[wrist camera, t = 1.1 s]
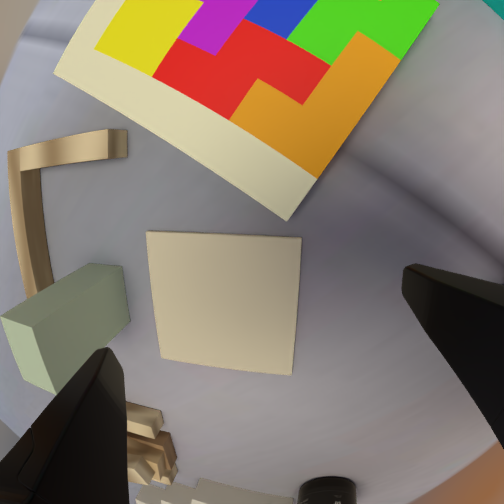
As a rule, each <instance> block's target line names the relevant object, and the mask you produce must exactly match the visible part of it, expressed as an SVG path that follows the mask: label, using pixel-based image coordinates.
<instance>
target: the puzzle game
mask: <svg viewBox="0 0 504 504" xmlns="http://www.w3.org/2000/svg"><path fill="white" fill-rule="evenodd" d="M483 1H484V2H485V3H486V4H487V5H488V6H489V7H491V8H492V9H493V10H494V11H495V12H496V13H497V14H498V15H499V16H500V17H501V18H502V19H503V20H504V0H483ZM438 6H439V3H438V2H437V1H435V0H96V1H95V2H94V4H93V5H92V7H91V8H90V10H89V11H88V13H87V14H86V16H85V17H84V19H83V20H82V22H81V24H80V25H79V27H78V29H77V30H76V32H75V34H74V35H73V37H72V39H71V40H70V42H69V44H68V46H67V48H66V49H65V51H64V53H63V55H62V57H61V59H60V61H59V63H58V65H57V67H56V69H55V71H54V73H53V74H55V75H57V76H58V77H60V78H62V79H64V80H65V81H67V82H69V83H71V84H73V85H74V86H76V87H78V88H79V89H81V90H83V91H85V92H86V93H88V94H90V95H92V96H93V97H95V98H97V99H98V100H100V101H102V102H103V103H105V104H107V105H108V106H110V107H112V108H113V109H115V110H117V111H118V112H120V113H122V114H123V115H125V116H127V117H128V118H130V119H132V120H133V121H135V122H136V123H138V124H140V125H141V126H143V127H145V128H146V129H148V130H149V131H151V132H153V133H154V134H156V135H157V136H159V137H161V138H162V139H164V140H165V141H167V142H168V143H170V144H172V145H173V146H175V147H176V148H178V149H179V150H181V151H183V152H184V153H186V154H187V155H189V156H190V157H192V158H193V159H195V160H196V161H198V162H200V163H201V164H203V165H204V166H206V167H207V168H209V169H210V170H212V171H213V172H215V173H216V174H218V175H219V176H221V177H222V178H224V179H225V180H227V181H228V182H230V183H231V184H233V185H234V186H236V187H237V188H239V189H240V190H242V191H243V192H245V193H246V194H247V195H249V196H250V197H252V198H253V199H255V200H256V201H258V202H259V203H261V204H262V205H263V206H265V207H266V208H268V209H269V210H271V211H272V212H274V213H275V214H276V215H278V216H279V217H281V218H282V219H284V220H285V221H286V222H287V221H288V219H289V218H290V217H291V215H292V214H293V212H294V211H295V210H296V208H297V207H298V205H299V204H300V203H301V201H302V200H303V198H304V197H305V196H306V194H307V193H308V191H309V190H310V189H311V187H312V186H313V184H314V183H315V182H316V180H317V179H318V177H319V176H320V175H321V173H322V172H323V170H324V169H325V168H326V166H327V165H328V163H329V162H330V161H331V159H332V158H333V156H334V155H335V154H336V152H337V151H338V149H339V148H340V147H341V145H342V144H343V142H344V141H345V139H346V138H347V137H348V135H349V134H350V132H351V131H352V130H353V128H354V127H355V125H356V124H357V122H358V121H359V120H360V118H361V117H362V115H363V114H364V113H365V111H366V110H367V108H368V107H369V105H370V104H371V103H372V101H373V100H374V98H375V97H376V95H377V94H378V93H379V91H380V90H381V88H382V87H383V85H384V84H385V83H386V81H387V80H388V78H389V77H390V75H391V74H392V72H393V71H394V70H395V68H396V67H397V65H398V64H399V62H400V61H401V60H402V58H403V57H404V55H405V54H406V52H407V51H408V49H409V48H410V47H411V45H412V44H413V42H414V41H415V39H416V38H417V36H418V35H419V33H420V32H421V31H422V29H423V28H424V26H425V25H426V23H427V22H428V20H429V19H430V17H431V16H432V14H433V13H434V12H435V10H436V9H437V7H438Z"/></svg>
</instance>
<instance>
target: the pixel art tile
mask: <svg viewBox="0 0 504 504" xmlns="http://www.w3.org/2000/svg"><path fill="white" fill-rule="evenodd" d="M135 500H136V504H293V498H288V497H282V496H276V495H270V494H265V493H260V492H255V491H250V490H246V489H242V488H237V487H233V486H229V485H225V484H222V483H218V482H214V481H211V480H207V479H204V478H200V479H199V482H198V484H197V487H196V489H194V488H191V487H188V486H185V485H182V484H179V483H176V482H173V483H172V485H167V488H166V490H165V489H162V488H159V487H157V486H154V485H152V484H149V485H144V484H143V485H142V487H141V489H140V491H139V493H138V495H137V497H136V499H135Z"/></svg>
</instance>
